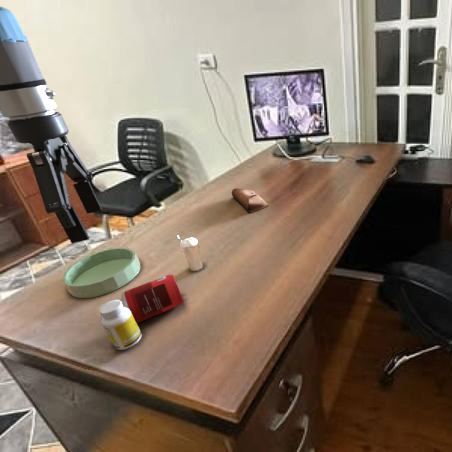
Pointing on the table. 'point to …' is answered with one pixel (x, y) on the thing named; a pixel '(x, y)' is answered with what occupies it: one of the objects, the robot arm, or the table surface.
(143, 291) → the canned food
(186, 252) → the milkshake
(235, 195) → the sunglasses case
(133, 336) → the supplement bottle
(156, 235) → the table surface
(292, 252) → the table surface
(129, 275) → the pan
